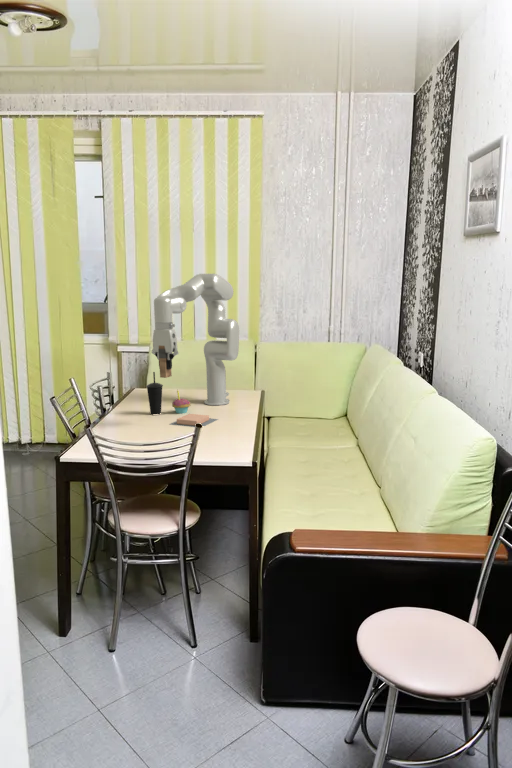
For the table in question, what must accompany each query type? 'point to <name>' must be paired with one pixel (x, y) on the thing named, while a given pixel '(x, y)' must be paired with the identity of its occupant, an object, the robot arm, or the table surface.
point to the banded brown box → (163, 363)
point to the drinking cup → (155, 396)
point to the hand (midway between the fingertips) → (165, 368)
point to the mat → (194, 426)
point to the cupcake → (180, 405)
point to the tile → (192, 419)
